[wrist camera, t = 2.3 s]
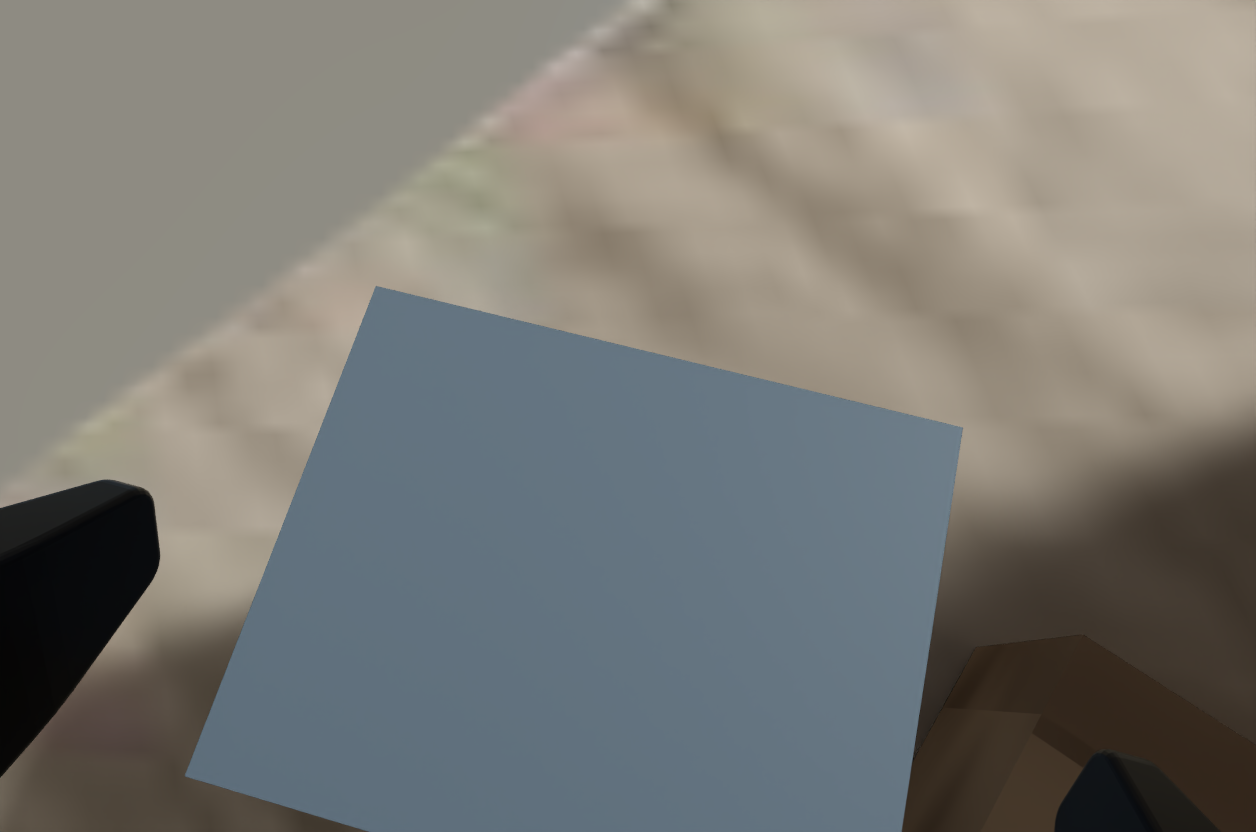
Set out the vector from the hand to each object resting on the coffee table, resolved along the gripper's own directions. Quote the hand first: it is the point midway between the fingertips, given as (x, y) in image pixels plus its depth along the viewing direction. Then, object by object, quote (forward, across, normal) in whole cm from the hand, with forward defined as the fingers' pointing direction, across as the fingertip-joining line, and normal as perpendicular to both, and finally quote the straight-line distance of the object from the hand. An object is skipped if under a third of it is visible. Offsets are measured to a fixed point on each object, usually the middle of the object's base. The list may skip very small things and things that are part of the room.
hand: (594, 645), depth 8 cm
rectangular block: (+6, 0, +6) cm, 8 cm away
